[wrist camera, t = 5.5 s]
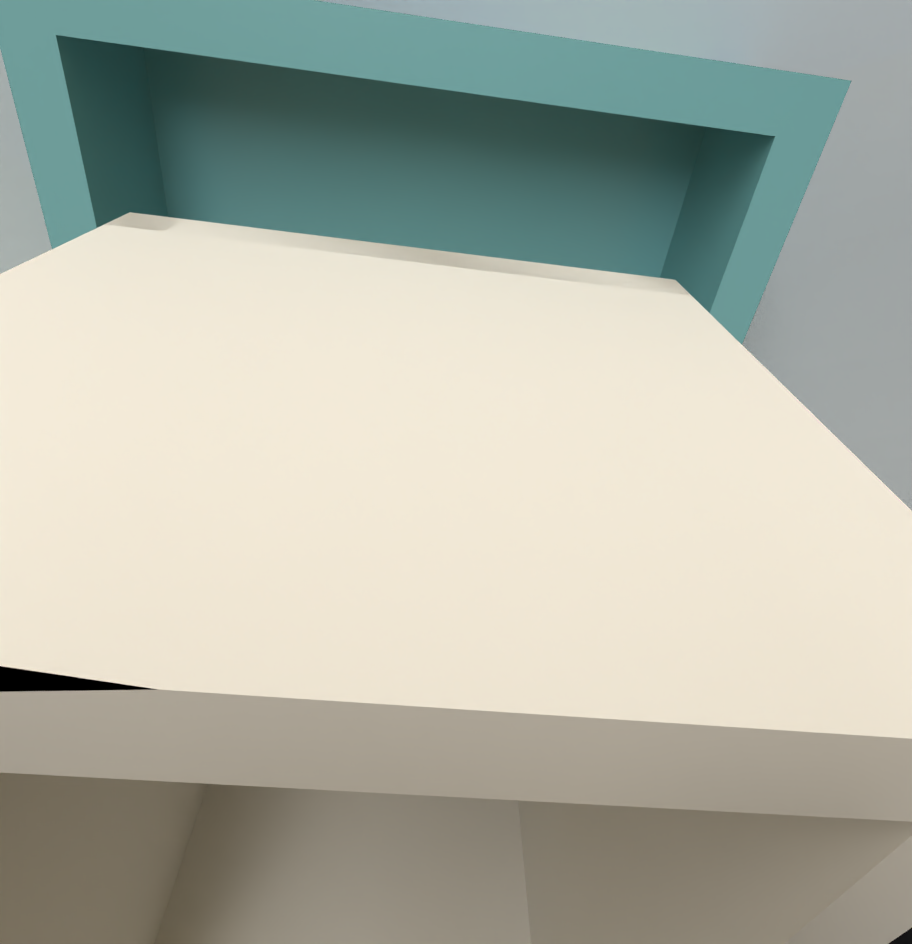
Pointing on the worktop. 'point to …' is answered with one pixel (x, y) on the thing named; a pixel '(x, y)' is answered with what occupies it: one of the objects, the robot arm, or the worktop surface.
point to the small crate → (431, 609)
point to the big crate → (417, 136)
